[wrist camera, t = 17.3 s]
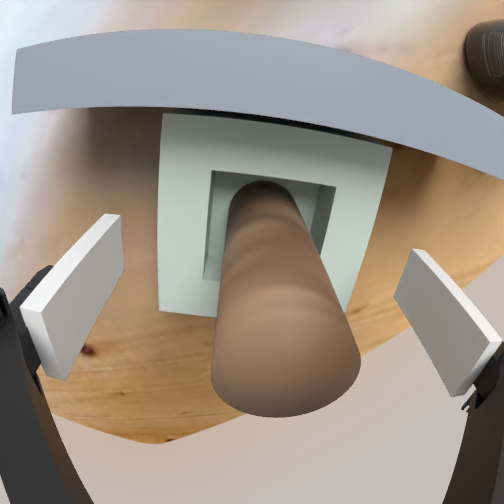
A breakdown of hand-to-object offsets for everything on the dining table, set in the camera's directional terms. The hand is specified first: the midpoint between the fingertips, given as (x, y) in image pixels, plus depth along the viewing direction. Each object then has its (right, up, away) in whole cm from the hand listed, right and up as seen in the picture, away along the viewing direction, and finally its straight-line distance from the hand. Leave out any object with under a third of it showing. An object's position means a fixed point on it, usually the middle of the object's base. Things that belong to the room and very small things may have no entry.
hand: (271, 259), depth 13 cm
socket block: (0, +3, +7) cm, 8 cm away
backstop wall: (+1, +10, +3) cm, 11 cm away
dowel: (0, +3, +5) cm, 6 cm away
